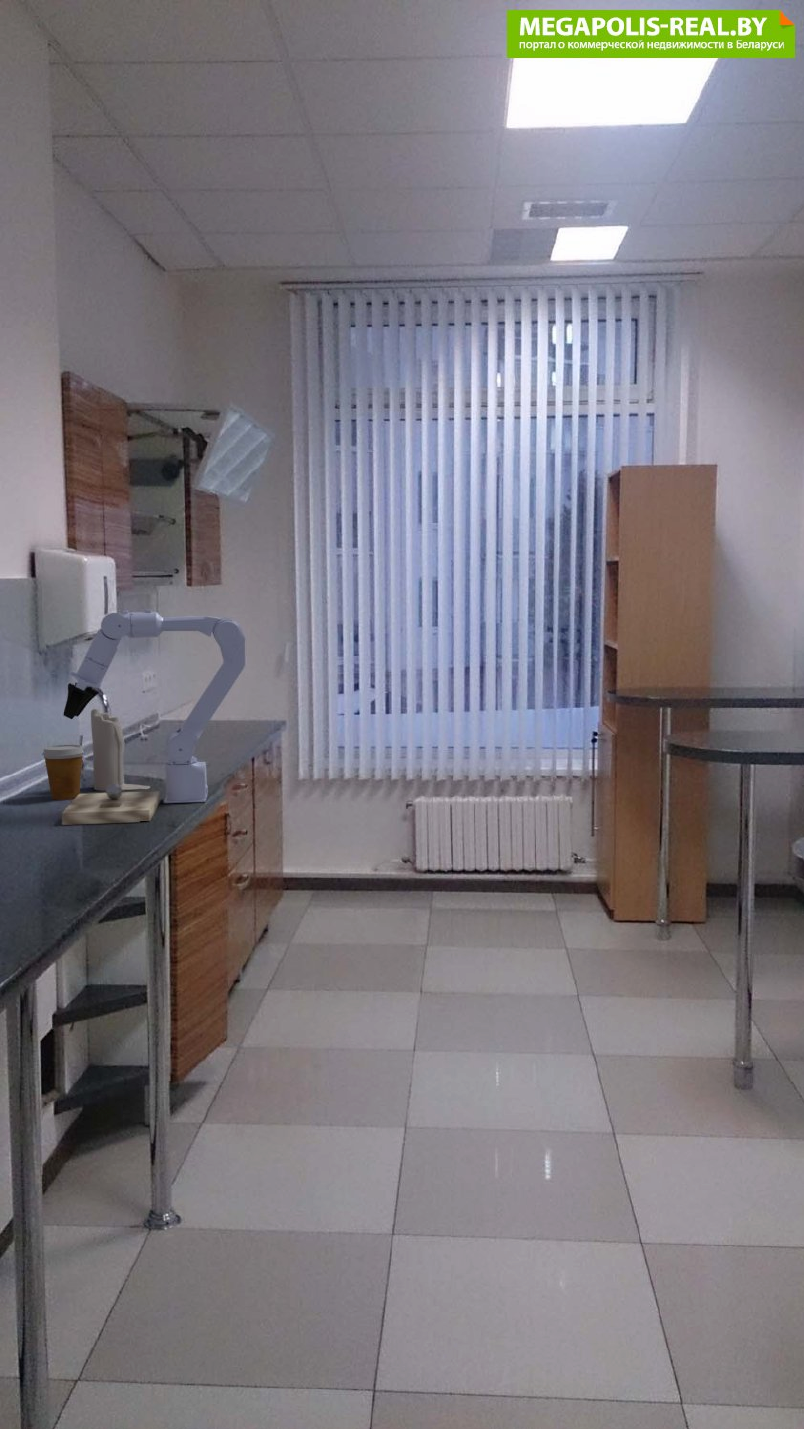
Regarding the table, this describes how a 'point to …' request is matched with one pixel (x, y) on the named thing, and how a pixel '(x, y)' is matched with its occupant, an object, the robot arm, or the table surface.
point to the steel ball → (114, 791)
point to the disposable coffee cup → (64, 770)
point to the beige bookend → (108, 752)
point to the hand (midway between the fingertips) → (70, 716)
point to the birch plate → (111, 808)
